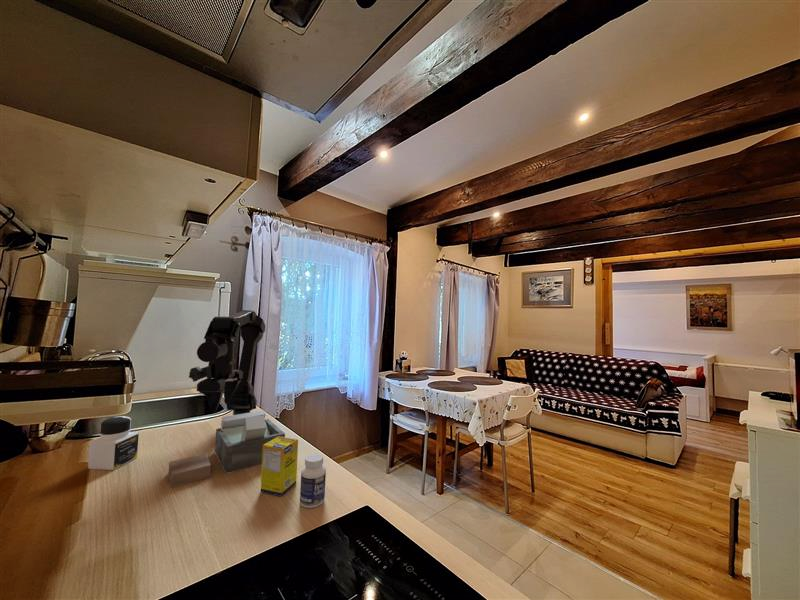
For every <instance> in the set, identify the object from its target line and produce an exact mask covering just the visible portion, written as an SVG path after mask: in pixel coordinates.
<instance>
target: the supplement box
mask: <svg viewBox="0 0 800 600" xmlns="http://www.w3.org/2000/svg"><path fill="white" fill-rule="evenodd" d="M298 450H299V438H298V439H297V438H291V437H286V436H285V437H280V436H278V437H276V438H275V439H273V440H271V441H269V442H267V443H266V444H264V445H263V448H262V464H261V473H260V474H261V475H260V492H261V493H267V494H271V495H276V496H280V497H283V495H284V494H285V495H286V493H287V492H288V491H290V489H291V488H293V487H294V486H296V484H297V477H298V476H297V474H298V473H297V472H298V452H299V451H298Z"/></svg>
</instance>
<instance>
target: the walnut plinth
mask: <svg viewBox="0 0 800 600" xmlns="http://www.w3.org/2000/svg"><path fill="white" fill-rule="evenodd" d="M211 467H212V465H211V462H210V460H209V457H208V456H207V454H206V453H202V454H197V455H192V456H189V457H184V458H180V459H179V458H178V459H176V460H171V461H169V462H168V479H169V483H170V488H176V487H179V486H182V485H186V484H190V483H193V482H197V481H201V480H204V479H208V478H211Z"/></svg>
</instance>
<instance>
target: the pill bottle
mask: <svg viewBox="0 0 800 600" xmlns="http://www.w3.org/2000/svg"><path fill="white" fill-rule="evenodd" d="M304 459H305V460H304V466H303V467H302V469H301V472H300V492H299V503H300V505H301V507H303V508H306V509H314V508H318V507H319V506H322V504H323V503H324V502H325V495H326V479H327V476H326V475H327V468H326V466H325V465H324V456H323V455H322V454H319V453H313V454H309V455H307V456H306V457H305V458H304Z"/></svg>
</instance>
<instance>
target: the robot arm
mask: <svg viewBox="0 0 800 600" xmlns="http://www.w3.org/2000/svg"><path fill="white" fill-rule="evenodd" d="M239 332H240V337H241V339H242V340H243V344H242V351H241V355H240V359H239V365H238V369H234V364H235V363H236V362H237V361H236V360H237V359H236V358H235V354H234V353H235V342H236V341H237V338H236V337H237V336H238V333H239ZM265 332H266V324H265V321H264V319H263V318H262V317H260V316H259V315H257V313H256V311H255V310H249V309H248V310H245V309H242V310H239V312H236V313H234V314H232V315H229V316H214V317H213V318H212V319H211V320H210V323H209V325H208V327H207V330H206V332H205V334H204V336H203V339H204V341H203V342H201V344H200V345H199V346H197V347H198V348H197V350H196V355H197V357H198V359H199V360H200V361H202V362H203V363H204V362H205V363H208V365H207V366H205V367H200V366H195V367H193V368H190V370H189V374H188V378H189V379H192V382H197V381H199V380H200V381H199V382H198V383H197V384H196V392H199V394H202V395H204V396H205V398H206V399H207V403H208V406H209V409H210V412H211V413H213V414H215V413H217V410H218V408H219V405H220V403H221V400H222V397H223V399H224V400H223V402H224V404H226V410H227V411H232V415H238V414H244V413H250V412H251V411H253V410H256V409H257V404H258V403H257V402H258V400H257V398H256V395H255V393H254V392H255V391H254V387H253V384H252V382H251V380H252V374H253V368H254V362H255V357H256V351H257V345H258V343H260V341H262V339H263V336H264V333H265ZM234 358H235V359H234ZM201 379H202V380H201ZM239 427H240V426H239Z"/></svg>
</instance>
